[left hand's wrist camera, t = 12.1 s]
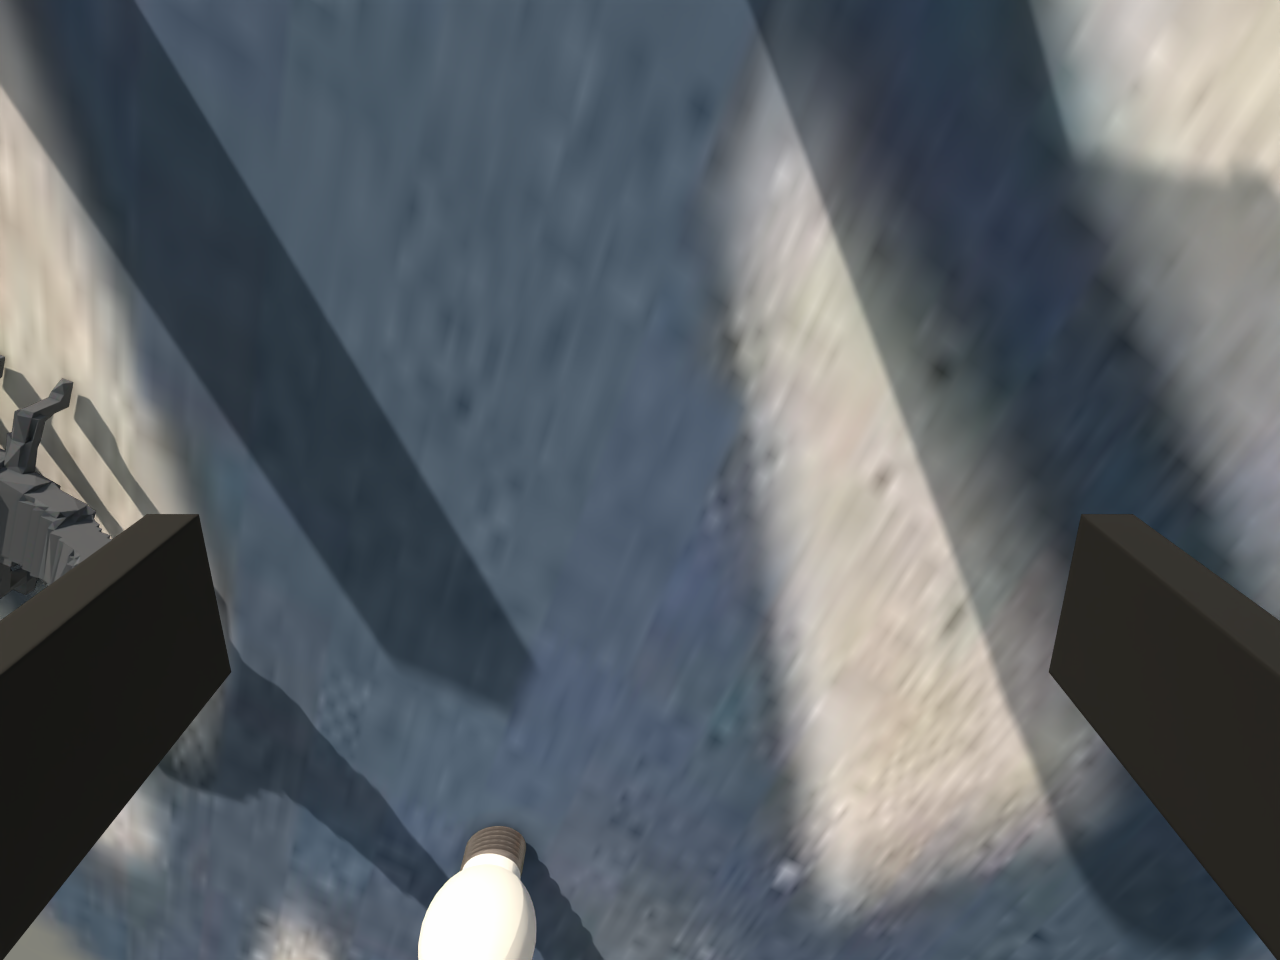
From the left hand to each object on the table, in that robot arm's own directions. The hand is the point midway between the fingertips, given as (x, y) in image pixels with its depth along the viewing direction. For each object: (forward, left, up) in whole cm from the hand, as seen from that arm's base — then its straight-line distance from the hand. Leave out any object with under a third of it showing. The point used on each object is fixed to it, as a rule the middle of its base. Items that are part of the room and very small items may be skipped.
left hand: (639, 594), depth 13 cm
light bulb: (+38, 0, -32) cm, 50 cm away
